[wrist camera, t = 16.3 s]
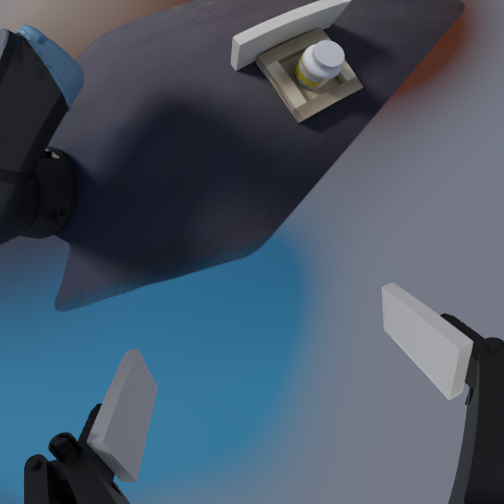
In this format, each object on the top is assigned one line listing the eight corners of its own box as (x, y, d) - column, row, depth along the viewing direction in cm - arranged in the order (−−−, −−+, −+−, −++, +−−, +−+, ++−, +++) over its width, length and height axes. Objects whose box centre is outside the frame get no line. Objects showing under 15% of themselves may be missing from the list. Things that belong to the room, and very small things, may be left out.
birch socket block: (355, 91, 41) (363, 87, 38) (298, 123, 42) (303, 120, 39) (315, 35, 38) (321, 27, 35) (255, 63, 39) (258, 56, 36)
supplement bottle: (322, 59, 39) (344, 35, 30) (329, 90, 41) (355, 72, 31) (288, 61, 39) (304, 35, 29) (296, 92, 40) (314, 73, 31)
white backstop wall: (329, 27, 38) (351, 0, 28) (236, 71, 39) (239, 45, 30) (324, 20, 38) (345, -8, 28) (230, 63, 39) (232, 36, 29)
